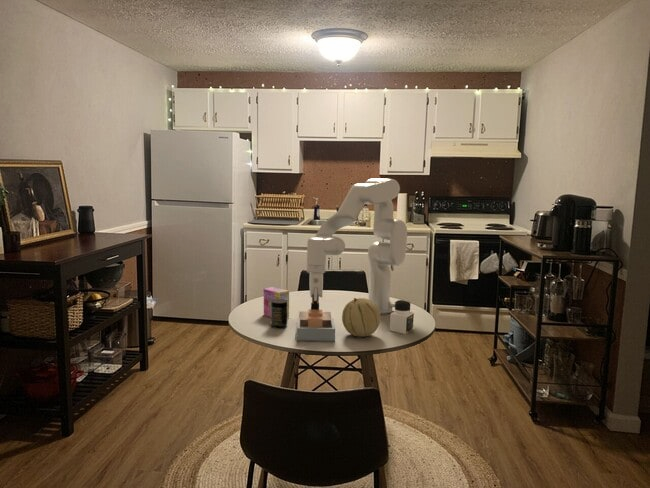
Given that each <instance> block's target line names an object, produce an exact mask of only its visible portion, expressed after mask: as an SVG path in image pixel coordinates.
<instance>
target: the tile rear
mask: <svg viewBox="0 0 650 488" xmlns="http://www.w3.org/2000/svg"><path fill="white" fill-rule="evenodd" d="M307 312H308V316H311V317H322V312H323V309H319V310H316V309H311V308H309V309H308V311H307Z"/></svg>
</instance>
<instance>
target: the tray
mask: <svg viewBox="0 0 650 488" xmlns="http://www.w3.org/2000/svg"><path fill="white" fill-rule="evenodd" d="M296 323H297V324H296V343H297V342H298V343H299V342H304V343H305V342H306V343H307V342H308V343H309V342H311V343H313V342H314V343H315V342H316V343H336V327H335V326H336V325H335V320H334V318H332V319H331V327H327V326H322V328H308V326H300V318H299V317H298V318H297V321H296Z"/></svg>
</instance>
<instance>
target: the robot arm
mask: <svg viewBox="0 0 650 488" xmlns="http://www.w3.org/2000/svg"><path fill="white" fill-rule="evenodd" d="M400 191H401V187H400V184H399V182H398V181H397V180H396V179H393V178H376V177H375V178H374V177H373V178H370V179H367V180H366V181H365V182H364V183H355V184H352V185H351V187H350V189H349V190H348V191H347V194H346V196H345V198H344V200H343V201H342V203H341V205H340V207H339V209H338V210H337V211H336V212H335V213H334V214H333V215H332V216H330V217H329V218H328V219H327V220H325V221H324V222H323V223H322V225H320V227H319V229H318V231H317V232H316V234H315V236H312V237H309V238H308V239H307V242H306V243H307V244H306V245H307V246H306V273H308V274H309V295H310V298H311V302H310V309H316V310H320V302H319V300H320V298H321V299H322V298H323V294H324V293H323V289H324V286H323V285H324V274H325V273H326V266H327V264H326V260H327V256H339V255H341V254H342V253H343V252H344V251H345V250H346V243H345V241H344V240H343V239H342V238H341V237H337V236H333V235H334V234H335V233H336V232H338V231H339V230H341V228H345V227H346V226H350V225H352V224H354V223H356V221H357V219H358V217H359V215H360V214H361V212H362V210H363V208H364V206H366V205H373V206H374V207H373V208H374V213H373V227H372V228H373V229H372V230H373V232H372V233H373V235H374V236H375V238H378V239H380V240H387V241H389V242H384V241H374V242H372V243H371V244H370V245H369V247H368V250H367V257H368V264H369V280H368V283H369V284H368V299H369V300H371V301H372V302H373V303H375V304H376V306H377V307H378V309H379V311H380V315H385V314H391V313H393V308H395V302H396V301H395V302H391V301H390V298H391V296H390V295H391V275H392V274H391V268H390V266H395V267H398V266H400V265H402V264H403V263H404V261H405V258H406V252H407V243H408V242H407V240H408V239H407V238H408V227H407V225H406V223H405V221H403V220H401V219H398V218H394V212H395V211H394V210H395V209H394V204H393V201H392V200H393V199H395V198H397V196H398V195H399V194H400Z"/></svg>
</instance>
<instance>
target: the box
mask: <svg viewBox="0 0 650 488" xmlns="http://www.w3.org/2000/svg"><path fill="white" fill-rule="evenodd" d="M274 299H285V300H287V301H288V307H287V319H288V318H290V290H288V289H287V290H286V289H284V288H283V289H282V288H278V287H275V286H271V287H270V286H269V287H266V288H263V316H266V317H269V318H271V300H274Z"/></svg>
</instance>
